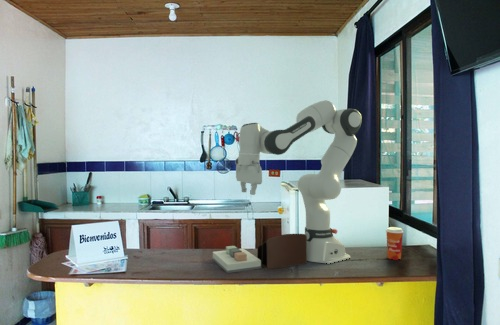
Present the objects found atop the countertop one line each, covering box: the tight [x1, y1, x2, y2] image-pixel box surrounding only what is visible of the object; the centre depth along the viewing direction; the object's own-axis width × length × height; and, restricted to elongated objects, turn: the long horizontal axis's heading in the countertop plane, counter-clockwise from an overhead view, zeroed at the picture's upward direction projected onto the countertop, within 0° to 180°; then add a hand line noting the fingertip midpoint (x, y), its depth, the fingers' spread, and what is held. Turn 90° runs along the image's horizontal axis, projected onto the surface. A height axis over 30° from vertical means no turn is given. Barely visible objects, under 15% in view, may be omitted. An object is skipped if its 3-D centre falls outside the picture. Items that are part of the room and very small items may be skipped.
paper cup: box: [385, 226, 405, 261], centre depth 165 cm, size 8×8×14 cm
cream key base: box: [212, 248, 262, 274], centre depth 156 cm, size 15×20×4 cm
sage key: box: [225, 245, 238, 255], centre depth 161 cm, size 4×4×3 cm
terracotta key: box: [234, 252, 247, 262], centre depth 151 cm, size 4×4×3 cm
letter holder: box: [256, 233, 308, 270], centre depth 157 cm, size 10×20×14 cm, turn 114°
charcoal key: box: [230, 248, 242, 258], centre depth 156 cm, size 4×4×3 cm
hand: (248, 193), depth 151 cm, fingers open, 8 cm apart
